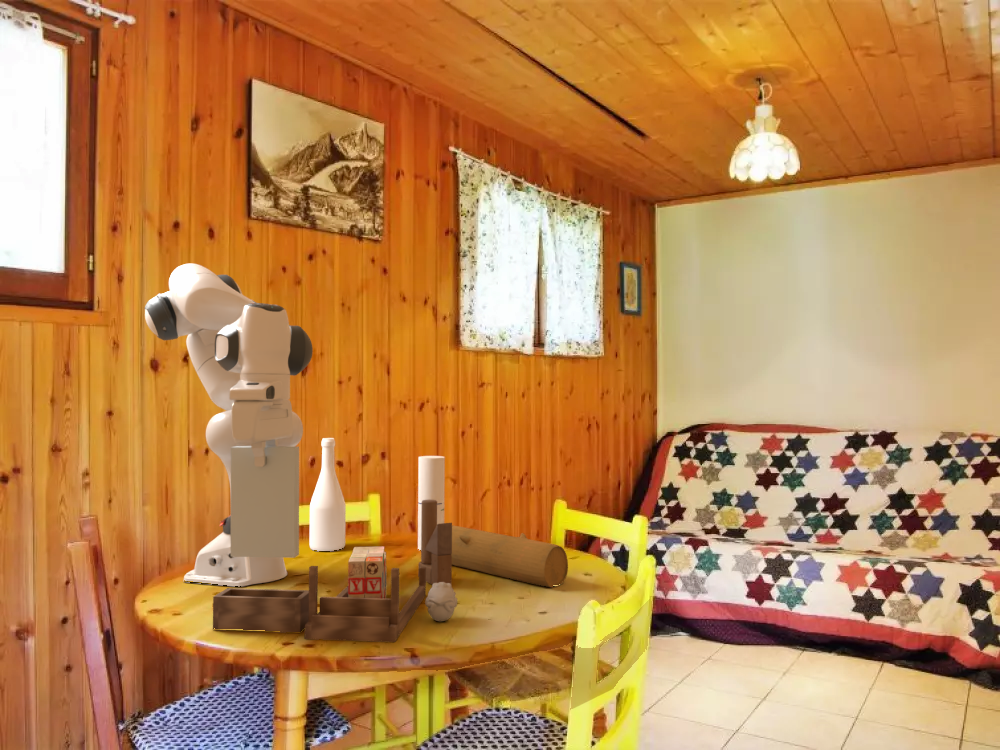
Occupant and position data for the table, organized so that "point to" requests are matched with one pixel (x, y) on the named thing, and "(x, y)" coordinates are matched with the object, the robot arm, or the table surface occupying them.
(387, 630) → the rack
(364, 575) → the stack of blocks
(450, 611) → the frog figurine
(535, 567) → the log
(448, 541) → the brown wedge with rod
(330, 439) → the wine bottle
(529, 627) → the table surface
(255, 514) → the sheet
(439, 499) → the cylindrical container
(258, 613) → the holder
